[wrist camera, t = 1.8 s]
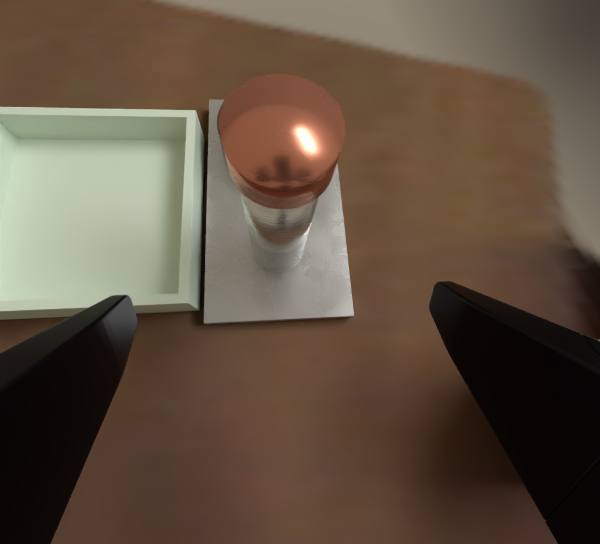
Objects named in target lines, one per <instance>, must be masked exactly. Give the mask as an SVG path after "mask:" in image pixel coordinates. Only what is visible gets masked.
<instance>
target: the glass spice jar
mask: <svg viewBox="0 0 600 544" xmlns="http://www.w3.org/2000/svg"><path fill="white" fill-rule="evenodd" d="M219 132H220V136H221V141H222V145H223V149H224V153H225V158H226V162H227V166H228V170H229V174H230V177H231V179H232V181H233V183H234V184H235V186H236V187H237V189H238V190H239V191H240V192H241V197H242V202H243V207H244V212H245V217H246V222H247V228H248V233H249V238H250V243H251V248H252V253H253V257H254V259H255V261H256V263H257V264H258V265H259V266H260V267H261V268H262V269H264V270H266V271H268V272H271V273H284V272H287V271H289V270H291V269H293V268H294V267H295V266H296V265H297V264H298V263H299V261H300V260H301V257H302V254H303V250H304V247H305V243H306V240H307V236H308V233H309V229H310V226H311V222H312V219H313V215H314V212H315V208H316V205H317V201H318V198H319V196H321V195H322V194H323V193H324V191H325V190H326V189H327V187H328V186H329V184H330V182H331V180H332V177H333V174H334V171H335V168H336V165H337V162H338V159H339V156H340V153H341V150H342V146H343V143H344V140H345V133H346V126H345V120H344V116H343V113H342V111H341V109H340V107H339V105H338V104H337V102H336V101H335V99H334V98H333V97H332V96H331V95H330V94H329V93H328V92H327V91H326V90H325V89H323V88H322V87H320V86H319V85H317V84H316V83H314V82H312V81H310V80H307V79H305V78H302V77H299V76H294V75H289V74H268V75H262V76H258V77H255V78H252V79H250V80H248V81H246V82H244V83H242V84H241V85H239V86H238V87H237V88H235V89H234V90H233V91H232V92H231V93H230V94H229V96H228V97H227V98H226V100H225V101H224V103H223V105H222V108H221V111H220V114H219Z"/></svg>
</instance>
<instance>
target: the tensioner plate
mask: <svg viewBox="0 0 600 544" xmlns="http://www.w3.org/2000/svg"><path fill="white" fill-rule="evenodd" d="M228 96H229V95H228ZM225 100H226V99H225ZM225 100H209V133H208V174H207V214H206V254H205V294H204V324H206V325H214V324H234V323H254V322H273V321H293V320H313V319H332V318H350V317H352V316H354V313H353V303H352V294H351V285H350V276H349V266H348V257H347V248H346V239H345V229H344V220H343V211H342V202H341V192H340V183H339V174H338V165H336V168H335V171H334V174H333V177H332V180H331V182H330V184H329V186H328V187H327V189H326V190H325V191H324V193H323V194H322V195H321V196H319V198H318V201H317V205H316V208H315V212H314V215H313V219H312V222H311V226H310V229H309V233H308V236H307V240H306V243H305V247H304V250H303V254H302V257H301V260H300V261H299V263H298V264H297V265H296V266H295V267H294V268H293V269H291V270H289V271H287V272H284V273H271V272H268V271H266V270H264V269H262V268H261V267H260V266H259V265H258V264H257V263H256V261H255V259H254V257H253V253H252V248H251V243H250V238H249V233H248V228H247V222H246V217H245V212H244V207H243V202H242V197H241V192H240V191H239V190H238V189H237V187H236V186H235V184H234V183H233V181H232V179H231V177H230V174H229V170H228V166H227V162H226V158H225V153H224V149H223V145H222V141H221V136H220V132H219V114H220V111H221V108H222V105H223V103H224V101H225Z"/></svg>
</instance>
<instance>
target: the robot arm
mask: <svg viewBox="0 0 600 544" xmlns="http://www.w3.org/2000/svg"><path fill="white" fill-rule="evenodd" d="M429 309H430V313H431V315H432V317H433V319H434V322H435V324H436V326H437V328H438V331H439V333H440V335H441V338H442V340H443V342H444V344H445V347H446V349H447V351H448V353H449V355H450V356H451V358H452V360H453V362H454V364H455V365H456V367H457V369H458V371H459V372H460V374H461V376H462V378H463V379H464V381H465V383H466V384H467V386H468V388H469V390H470V391H471V393H472V395H473V397H474V398H475V400H476V402H477V404H478V405H479V407H480V409H481V410H482V412H483V414H484V416H485V417H486V419H487V421H488V423H489V424H490V426H491V428H492V430H493V431H494V433H495V435H496V437H497V438H498V440H499V442H500V443H501V445H502V447H503V449H504V450H505V452H506V454H507V456H508V457H509V459H510V461H511V463H512V464H513V466H514V468H515V470H516V471H517V473H518V475H519V476H520V478H521V480H522V482H523V483H524V485H525V487H526V489H527V490H528V492H529V494H530V496H531V497H532V499H533V501H534V503H535V504H536V506H537V508H538V509H539V511H540V513H541V515H542V516H543V518H544V519H545V520H546V524H547V526H548V527H549V529H550V531H551V532H552V534H553V536H554V538H555V539H556V541H557V543H558V544H600V341H598V340H596V339H593V338H591V337H588V336H586V335H581V334H580V333H578V332H576V331H573V330H571V329H568V328H566V327H563V326H561V325H558V324H556V323H553V322H551V321H548V320H546V319H543V318H541V317H538V316H536V315H533V314H531V313H528V312H526V311H523V310H521V309H518V308H516V307H513V306H511V305H508V304H506V303H503V302H501V301H498V300H496V299H493V298H491V297H488V296H486V295H483V294H481V293H478V292H476V291H473V290H471V289H468V288H466V287H463V286H461V285H458V284H456V283H453V282H450V281H445V282H437V283H436V284H435V286H434V289H433V293H432V296H431V300H430V304H429ZM136 328H137V316H136V313H135V310H134V307H133V303H132V300H131V298H130V297H129V296H128V295H112V296H110V297H108V298H106V299H104V300H102V301H100V302H98V303H96V304H94V305H92V306H91V307H89V308H87V309H85V310H83V311H81V312H79V313H77V314H75V315H73V316H71V317H69V318H67V319H66V320H64V321H62V322H60V323H58V324H56V325H54V326H52V327H50V328H48V329H46V330H44V331H42V332H40V333H39V334H37V335H35V336H33V337H31V338H29V339H27V340H25V341H23V342H21V343H19V344H17V345H15V346H13V347H12V348H10V349H8V350H6V351H4V352H2V353H0V544H51V541H52V539H53V537H54V534H55V532H56V530H57V527H58V525H59V523H60V520H61V518H62V516H63V513H64V511H65V509H66V506H67V504H68V502H69V499H70V497H71V495H72V492H73V490H74V488H75V485H76V483H77V481H78V478H79V476H80V474H81V471H82V469H83V467H84V464H85V462H86V460H87V457H88V455H89V453H90V450H91V448H92V446H93V443H94V441H95V439H96V436H97V434H98V432H99V429H100V427H101V425H102V422H103V420H104V417H105V415H106V413H107V410H108V408H109V406H110V403H111V401H112V399H113V396H114V394H115V392H116V389H117V387H118V385H119V382H120V380H121V377H122V375H123V372H124V369H125V366H126V363H127V359H128V356H129V352H130V349H131V346H132V342H133V339H134V335H135V332H136Z"/></svg>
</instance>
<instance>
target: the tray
mask: <svg viewBox="0 0 600 544" xmlns="http://www.w3.org/2000/svg"><path fill="white" fill-rule="evenodd" d="M204 149H205V138H204V135H203V132H202V129H201V126H200V122H199V119H198V116H197V113H196V110H144V109H88V108H33V107H0V320H7V319H29V318H51V317H71V316H73V315H75V314H77V313H79V312H81V311H83V310H85V309H87V308H89V307H91V306H92V305H94V304H96V303H98V302H100V301H102V300H104V299H106V298H108V297H110V296H112V295H128V296H129V297H130V298H131V300H132V303H133V307H134V310H135V313H136V314H138V313H159V312H181V311H200V289H201V254H202V219H203V184H204Z"/></svg>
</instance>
